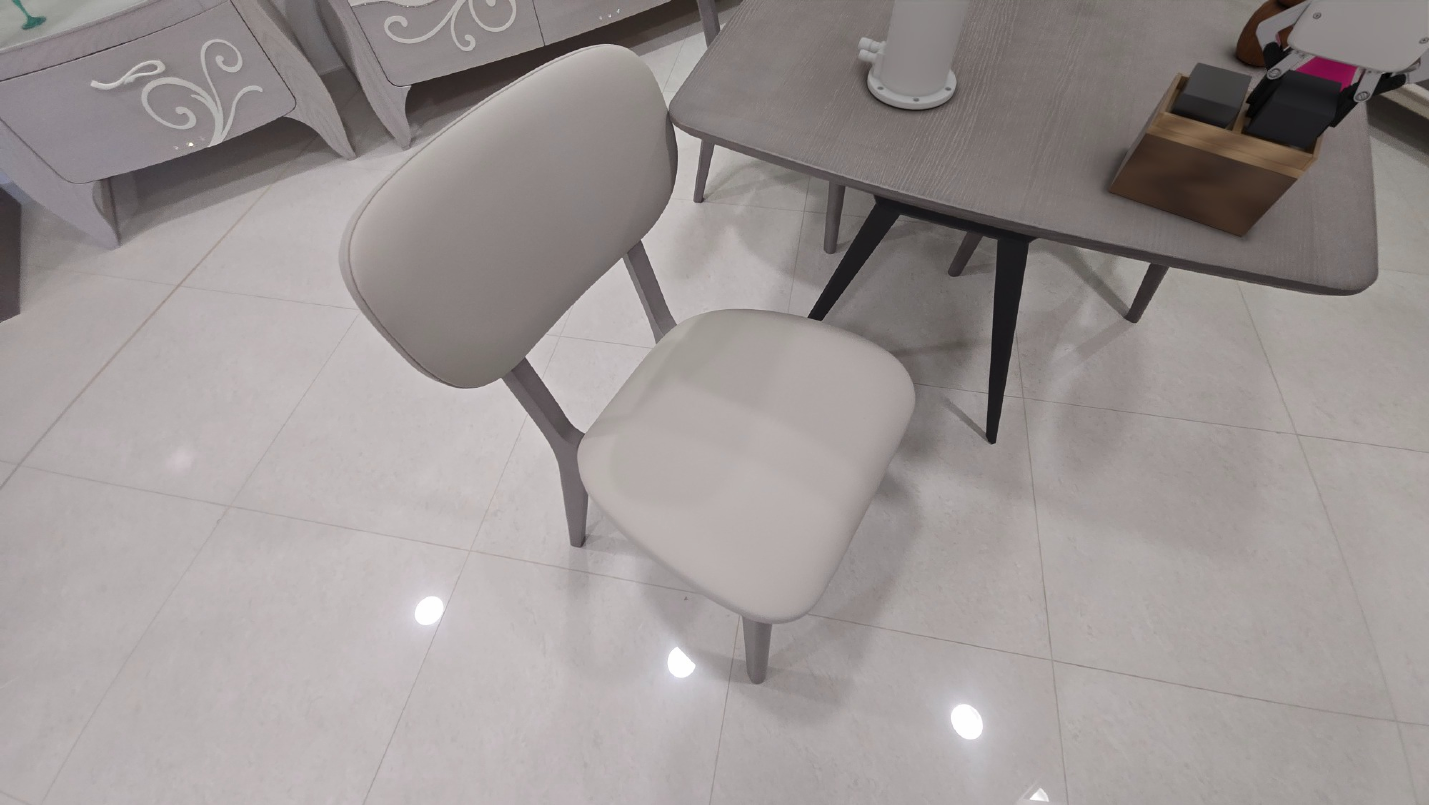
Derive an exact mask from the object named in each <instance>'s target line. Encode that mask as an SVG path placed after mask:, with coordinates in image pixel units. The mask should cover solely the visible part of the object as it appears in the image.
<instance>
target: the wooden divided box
mask: <svg viewBox="0 0 1429 805" xmlns="http://www.w3.org/2000/svg"><path fill="white" fill-rule="evenodd" d="M1252 78H1253V76H1252V75H1249V74H1245V73H1241V72H1237V71H1233V70H1229V69H1226V68H1222V67H1219V66H1215V65H1210V64H1206V63H1204V62H1197V63H1196V64H1195V66H1194V67H1193V69H1192V71H1191V72H1190V74H1186V73H1182V72H1177V73H1176V75H1175V77H1174V78H1173V80H1172V81H1171V82H1170V85H1169V86H1168V87H1167V89H1166V90H1165V92H1164V94H1163V95H1162V97H1161V99H1160V100H1159V102H1158V103H1157V105H1156V107H1155V108H1154V109H1153V111H1152V113H1151V114H1150V116H1149V117H1148V119H1147V120H1146V122H1145V123H1144V125H1143V127H1142V128H1141V130H1140V131H1139V133H1138V134H1137V136H1136V138H1134V141H1133V142H1132V144H1131V146H1130V147H1129V148H1128V150H1127V152H1126V154H1125V156H1124V158H1123V159H1122V162H1121V164H1120V166H1119V168H1118V169H1117V171H1116V174H1115V176H1114V178H1113V180H1112V182H1111V184H1110V186H1109V188H1108V190H1107V191H1108V192H1109V193H1111V194H1115V195H1118V196H1120V197H1123V198H1127V199H1129V200H1133V201H1136V202H1137V203H1138V202H1139V203H1142V204H1144V205H1147V206H1150V207H1154V208H1156V209H1158V210H1162V211H1165V212H1168V213H1171V214H1174V215H1176V216H1179V217H1183V218H1186V219H1189V220H1191V221H1194V222H1197V223H1200V224H1203V225H1206V226H1209V227H1212V228H1215V229H1217V230H1221V231H1223V232H1227V233H1230V234H1232V235H1235V236H1239V237H1244V236H1245V235H1246V234H1247V233H1248V232H1249V231H1250V230H1251V229H1252V228H1253V227H1254V226H1255V225H1256V224H1257V222H1259V221H1260V219H1261V218H1262V217H1264V215H1265V214H1266V213H1268V212H1269V210H1270V209H1272V207H1273V206H1274V205H1275V204H1276V203H1277V202H1278V201H1279V200H1280V199H1281V198H1282V197H1283V196H1284V195H1285V193H1287V191H1288V190H1290V189H1291V187H1293V185H1294V184H1295V183H1296V182H1297V181H1298V180H1299V179H1300V178H1301V177H1302V176H1303V175H1304V174H1305V173H1306V172H1307V170H1309V169H1310V168H1311V167H1312V166H1313V165H1314V164H1315V163H1316V161H1317V160H1318V159H1319V157H1320V156H1319V155H1320V151H1321V147H1322V142H1323V139H1324V134H1325V131H1324V132H1323V133H1322V135H1321V136H1320V137H1316V138H1315V139H1314V140H1313V141H1312V142H1311V143H1310V144H1309V145H1308V146H1307V147H1306V148H1305V149H1304V148H1300V147H1297V146H1293V145H1290V144H1287V143H1283V142H1280V141H1276V140H1273V139H1270V138H1266V137H1263V136H1259V135H1256V134H1253V133H1249V132H1246V131H1247V129H1248V126H1249V123H1250V120H1251V118H1248V117H1245V116H1246V113H1247V110H1248V108H1249V105H1250V104H1247V103H1245V102H1246V100H1247V98H1248V96H1249V95H1250V94H1251V92H1252V91H1250V90H1248V89H1249V88H1250V84H1251V82H1252Z"/></svg>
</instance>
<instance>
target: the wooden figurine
mask: <svg viewBox="0 0 1429 805" xmlns="http://www.w3.org/2000/svg"><path fill="white" fill-rule="evenodd" d="M1304 1H1306V0H1267V1H1265V2H1263V3H1262V4H1261V6H1259V7H1258V8H1257V9H1256V10H1255V11H1254V12H1253V14H1252V15H1251V17H1250V18H1248V20H1247V22H1246V23H1245V25H1244V26H1243V29H1242V30H1241V32H1240V34H1239V36H1238V38H1237V39H1238V40H1237V42H1236V48H1235V53H1236V56H1237V58H1238V59H1239V60H1241V61H1242V62H1243V63H1245V64H1248V65H1251V66H1256V67H1264V66H1266V65H1265V62H1264V58H1263V51H1262V48H1261V47H1260V44H1259V41H1258V38H1257V36H1256V30H1257V28H1258V25H1259V24H1260V23H1261V22H1262V21H1264V20H1266V19H1268V18H1271V17H1273V16H1275V15H1277V14H1279V13H1281V12H1283V11H1285V10H1287V9H1290V8H1292V7H1294V6H1296V5H1298V4H1300V3H1302V2H1304ZM1292 30H1293V26H1289V27H1286V28H1284V29H1282V30H1280V31H1279V32H1278V36H1279V38H1280V39H1281V42H1282V46H1283V50H1284V49H1285V48H1287V47H1288V46H1289V45H1288V43H1287V39H1288V36H1289V34H1290V33H1291V31H1292Z"/></svg>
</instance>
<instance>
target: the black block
mask: <svg viewBox="0 0 1429 805" xmlns="http://www.w3.org/2000/svg"><path fill="white" fill-rule="evenodd" d="M1294 70H1295V69H1289V70H1288V71H1287V72H1286V73H1285V75H1284V77H1283V80H1282V83H1281V85H1280V86H1279V87H1278V88H1277V90H1276V91H1274V93H1273V94H1272V95H1271V96H1270V98H1269V99H1268V100H1267V101H1266V103H1265V104H1264V105H1263V106H1262V107H1261V109H1260V110H1259V111H1258V112H1257V114H1256V115H1255V116H1254V117H1252V118H1251V120H1250V123H1249V126H1248V129H1247V131H1246V132H1249V133H1253V134H1256V135H1259V136H1263V137H1266V138H1270V139H1273V140H1276V141H1280V142H1283V143H1287V144H1290V145H1293V146H1297V147H1300V148H1304V149H1305V148H1306V147H1307V146H1308V145H1309V144H1310V143H1311V142H1312V141H1313V140H1314V139H1315V138H1316V137H1317V136H1318V135H1319V134H1320V132H1321V131H1322V130H1323V129H1324V128H1325V127H1326V126H1327V125H1328V124H1329V123H1330V122H1331V121H1332V120H1333V119H1334V117H1335V112H1336V107H1337V103H1338V98H1339V94H1340V91H1341V87H1342V83H1341V82H1337V81H1333V80H1329V79H1325V78H1321V77H1317V76H1314V75H1310V74H1306V73H1302V72H1298V71H1294Z"/></svg>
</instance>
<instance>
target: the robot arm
mask: <svg viewBox="0 0 1429 805" xmlns="http://www.w3.org/2000/svg"><path fill="white" fill-rule="evenodd" d="M971 2H972V0H894V3H893V8H892V13H891V17H890V22H889V26H888V32H887V36H886V40H882V41H881V42H879V41H876V40H874V39H872V38H868V37H865V36H862V37H861V38H860V40H859V41H858V46H857V52H859V53H858V56H857V59H858V61H861V62H865V63H870V64H871V67H870V69H869V71H868V75H867V80H866V82H867V83H866V85H867V87H868V90H869V91H870V93H871V94H872V95H873V96H874V97H875V98H876V99H878V100H879V101H881V102H882V103H884V104H886V105H888V106H892V107H894V108H899V109H904V110H925V109H926V110H927V109H932V108H936V107H938V106H941V105H944V103H946V102H947V101H949V100H950V99H951V98H953V95H954V94H955V91H956V87H957V76H956V75H955V73H954V72H953V70H952V69H951V67H952V63H953V60H954V57H955V54H956V50H957V47H958V45H959V44H958V43H959V42H960V37H961V34H962V31H963V28H964V24H965V22H966V17H967V14H968V12H969V9H970V5H971ZM1289 26H1293V30H1292V31H1291V33H1290V34H1289V36H1288V39H1287V43H1288V45H1289V46H1288V47H1287V48H1285V49H1284V50H1283V46H1282V42H1281V39H1280V38H1279V36H1278V32H1279V31H1280V30H1282V29H1284V28H1286V27H1289ZM1256 36H1257V38H1258V41H1259V44H1260V47H1261V48H1262V51H1263V58H1264V62H1265V65H1264V66H1265V69H1266V73H1265V74H1264V76H1262V78H1261V79H1260V80H1259V82H1258V83H1257V85H1256V86H1255V87H1254V88H1253V90H1252V91H1250V92H1251V94H1250V95H1249V96H1248V98H1247V100H1246V102H1245V103H1247V104H1250V105H1249V108H1248V110H1247V113H1246V116H1245V117H1248V118H1252V117H1254V116H1255V115H1256V114H1257V112H1258V111H1259V110H1260V109H1261V107H1262V106H1263V105H1264V104H1265V103H1266V101H1267V100H1268V99H1269V98H1270V96H1271V95H1272V94H1273V93H1274V91H1276V90H1277V88H1278V87H1279V86H1280V85H1281V83H1282V80H1283V77H1284V75H1285V73H1286V72H1287V71H1288V70H1289V69H1290V70H1292V68H1293V67H1295V66H1296V65H1297V64H1299V63H1300V62H1302V61H1303V60H1304V59H1305V58H1307V57H1308V56H1313V57H1315V56H1316V57H1320V58H1324V59H1328V60H1332V61H1336V62H1340V63H1344V64H1348V65H1352V66H1356V67H1358V68H1359V69H1360V68H1361V69H1362V71H1361V73H1360V75H1359V77H1358V79H1357V81H1355V82H1354V83H1353V82H1352V83H1351V85H1349V86H1348V87H1345V88H1344V89H1343V90H1342V91H1341V92H1340V94H1339V98H1338V103H1337V107H1336V112H1335V117H1334V119H1333V120H1332V121H1331V122H1330V123H1329V124H1328V125H1327V126H1326V127H1325V128H1324V129H1323V130H1322V131H1321V132H1320V134H1319V135H1318V136H1317V137H1320V136H1321V135H1322V133H1323V132H1324V133H1325V131H1327V129H1328V128H1329V127H1330V128H1334V129H1335V128H1336V127H1337V126H1338V125H1339V124H1340V123H1341V122H1342V121H1343V120H1344V119H1345V118H1346V117H1347V116H1348V115H1349V114H1350V113H1351V112H1352V111H1353V110H1354V108H1356V107H1357V105H1358V104H1359V103H1364V102H1367V101H1368V100H1370V99H1371V98H1372V97H1375V96H1378V95H1382V94H1385V93H1387V92H1392V91H1395V90H1397V89H1400V88H1402V87H1403V86H1406V85H1412V84H1415V83H1420V82H1423V81H1426V80H1429V0H1306V1H1304V2H1302V3H1300V4H1298V5H1296V6H1294V7H1292V8H1290V9H1287V10H1285V11H1283V12H1281V13H1279V14H1277V15H1275V16H1273V17H1271V18H1268V19H1266V20H1264V21H1262V22H1261V23H1260V24H1259V25H1258V28H1257V30H1256ZM1418 59H1419V61H1418V62H1417V63H1416V61H1417V60H1418ZM1414 63H1415V64H1414Z"/></svg>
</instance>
